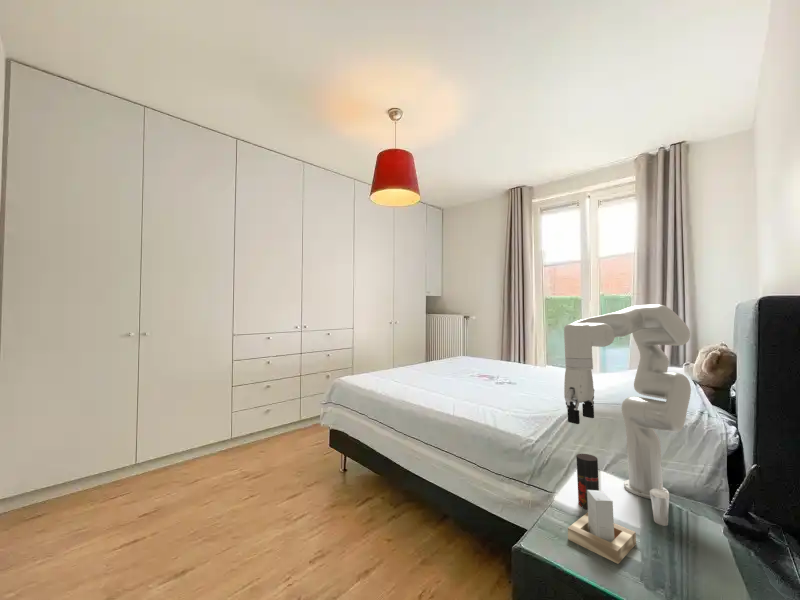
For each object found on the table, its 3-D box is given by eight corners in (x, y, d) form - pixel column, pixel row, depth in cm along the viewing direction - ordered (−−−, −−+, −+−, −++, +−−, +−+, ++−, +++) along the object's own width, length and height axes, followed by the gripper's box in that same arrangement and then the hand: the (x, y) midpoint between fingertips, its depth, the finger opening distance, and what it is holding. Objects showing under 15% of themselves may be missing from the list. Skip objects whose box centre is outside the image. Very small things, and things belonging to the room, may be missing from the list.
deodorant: (602, 511, 104) (600, 461, 105) (581, 509, 105) (579, 460, 106) (595, 501, 110) (593, 454, 111) (576, 500, 111) (574, 453, 112)
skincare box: (615, 550, 87) (613, 501, 88) (598, 548, 87) (595, 500, 88) (604, 535, 93) (602, 490, 94) (588, 534, 93) (586, 489, 94)
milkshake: (672, 521, 99) (670, 485, 100) (670, 529, 95) (667, 492, 96) (652, 515, 102) (650, 480, 103) (650, 522, 98) (648, 487, 99)
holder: (588, 523, 98) (587, 512, 99) (636, 543, 89) (635, 532, 89) (568, 539, 91) (567, 527, 91) (618, 564, 82) (617, 551, 82)
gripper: (579, 360, 113) (581, 412, 112) (552, 364, 103) (555, 422, 101) (603, 362, 107) (606, 417, 106) (578, 367, 97) (581, 428, 96)
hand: (581, 420), depth 104 cm, fingers open, 9 cm apart
